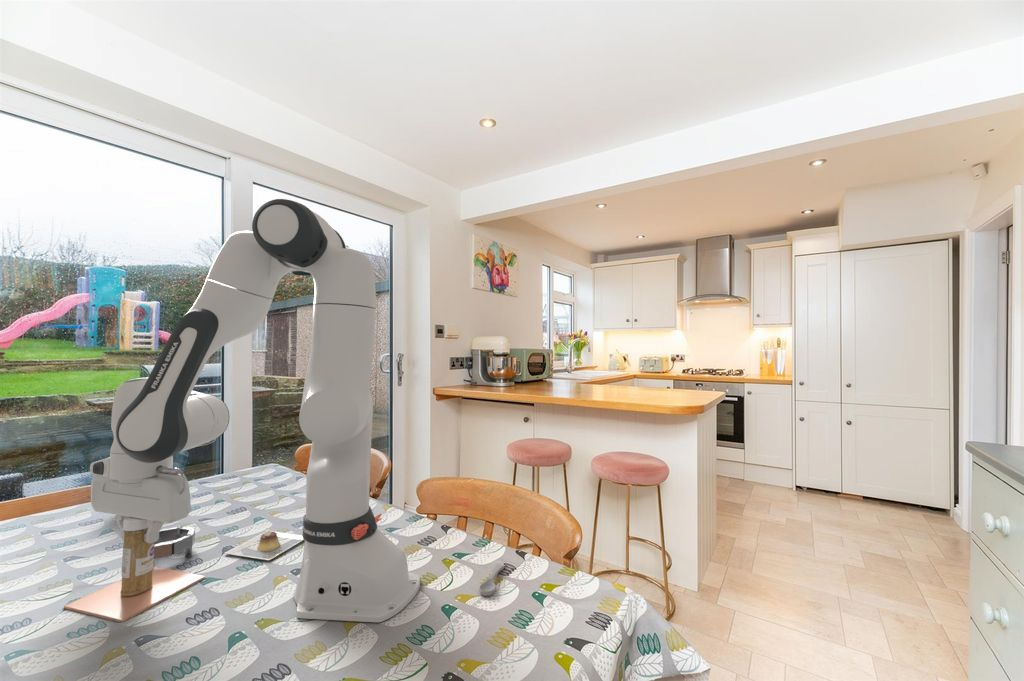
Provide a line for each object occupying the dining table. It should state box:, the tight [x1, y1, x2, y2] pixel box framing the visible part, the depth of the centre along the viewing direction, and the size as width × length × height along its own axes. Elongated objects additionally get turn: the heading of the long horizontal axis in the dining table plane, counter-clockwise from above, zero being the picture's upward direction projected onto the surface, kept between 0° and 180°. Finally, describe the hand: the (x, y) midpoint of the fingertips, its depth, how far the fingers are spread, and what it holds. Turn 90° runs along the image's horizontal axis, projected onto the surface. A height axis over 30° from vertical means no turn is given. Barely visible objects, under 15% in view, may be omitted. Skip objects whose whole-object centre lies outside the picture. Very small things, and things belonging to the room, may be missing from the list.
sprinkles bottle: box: [120, 517, 155, 596], centre depth 77 cm, size 5×5×14 cm
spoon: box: [478, 563, 505, 597], centre depth 82 cm, size 3×12×2 cm, turn 167°
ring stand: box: [153, 525, 196, 566], centre depth 90 cm, size 10×10×4 cm
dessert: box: [223, 528, 305, 562], centre depth 96 cm, size 12×12×5 cm
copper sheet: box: [63, 565, 206, 623], centre depth 77 cm, size 14×14×1 cm
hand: (139, 539), depth 78 cm, fingers closed on sprinkles bottle, 4 cm apart
